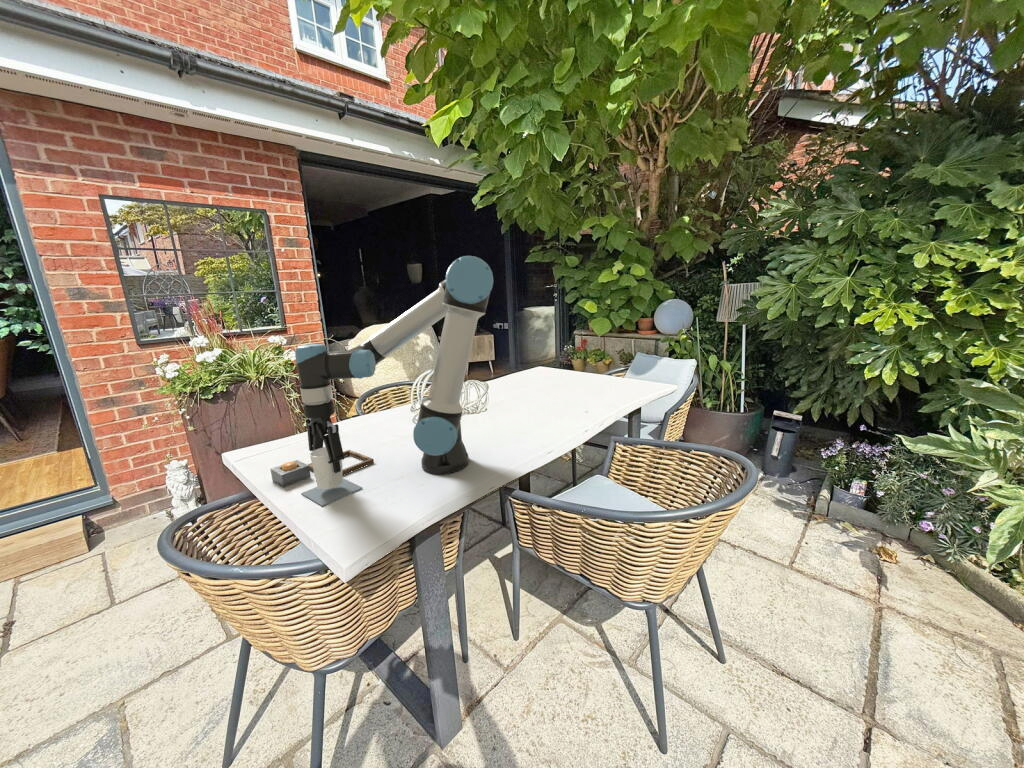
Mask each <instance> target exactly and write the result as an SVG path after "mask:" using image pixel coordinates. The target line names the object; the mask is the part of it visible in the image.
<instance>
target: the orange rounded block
mask: <svg viewBox="0 0 1024 768" xmlns="http://www.w3.org/2000/svg"><path fill="white" fill-rule="evenodd" d="M294 461H295V460H293V461H287V462H285V463H284V462H283V464H281V465H282V470H283V471H285V472H286V471H289V470H292V469H294V468H297V463H296V462H294Z"/></svg>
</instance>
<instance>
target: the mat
mask: <svg viewBox="0 0 1024 768" xmlns="http://www.w3.org/2000/svg"><path fill="white" fill-rule="evenodd" d="M362 488H363V487H362V486H361V485H358V484H356V483H354V482H352V481H349V480H347V479H345V478H344V477H343V483H342V484H341V485H339V486H337V487H335V488H331V489H319V488H318V487H317V486H316V487H313V488H311V489H309V490H305V491H303V492H301V494H300V495H301V496H303V497H304V498H306V499H308V500H310V501H312V502H313V503H315V504H317V505H319V506H320V507H321V508H322V507H325V506H327V505H329V504H332V503H334V502H336V501H339V500H341V499H343V498H345V497H348V496H349V494H350V495H351V493H352V494H354V493H356V492H358V491H357V490H359V491H361V490H363V489H362ZM360 489H361V490H360ZM355 491H356V492H355ZM353 492H354V493H353ZM344 496H345V497H344ZM342 497H343V498H342ZM340 498H341V499H340ZM333 501H334V502H333ZM331 502H332V503H331Z"/></svg>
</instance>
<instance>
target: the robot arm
mask: <svg viewBox="0 0 1024 768" xmlns="http://www.w3.org/2000/svg"><path fill="white" fill-rule="evenodd" d="M493 286H494V275H493V271H492V269H491V266H490V265H489V264H488V263H487V262H486V261H485V260H483V259H482V258H481V257H477V256H476V255H475V256H474V255H473V256H472V255H462V256H459V258H456V259H455V260H454V261H452V263H451V264H450V265H449V266H448V268H447V270H446V273H445V278H444V280H442V281H440V282H439V284H438V288H437V289H436V290H434V291H433V292H431V293H430V294H428V295H427V296H425V298H423V299H421V300H420V301H419V302H417V303H416V304H415V305H413V306H412V307H411V308H409V309H408V310H406V311H405V312H403V313H402V314H401V315H399V316H398V317H397V318H395V319H393V320H392V321H390V322H389V324H387V325H385V326H384V327H382V328H381V329H380V330H378V331H377V332H375V333H374V334H373V335H371V336H370V337H369V338H367V339H365V340H364V341H363V342H361V343H360V344H358V345H356V346H355V347H352V348H350V349H348V350H335V351H333V350H332V351H330V350H328V349H327V347H326V344H323V343H312V344H311V343H310V344H302V345H299V346H297V347H296V348H295V350H294V352H295V353H294V354H295V365H296V370H297V375H298V376H297V377H298V380H299V381H298V382H299V387H300V388H299V389H300V395H301V402H302V403H304V404H303V405H302V406H303V413H304V417H305V418H306V419H305V424H306V427H307V428H306V429H307V430H306V431H307V438H308V439H307V440H308V450H309V452H312V451H314V450H316V449H319V448H322V447H326V449H327V452H328V455H329V458H330V461H329V462H328V463H329V467H330V474H331V480H332V484H333V485H334V484H336V483H339V482H341V481H343V480H342V473H341V466H340V460H342V461H343V460H344V459H345V457H344V455H343V452H344V451H343V446H342V441H341V436H340V428H339V424H337V423H336V424H333V421H332V418H331V416H332V415H333V414H335V413H336V411H335V410H336V409H335V404H334V400H332V399H333V398H334V397H333V386H332V383H331V380H341V379H342V380H343V379H344V380H345V379H347V380H348V379H358V380H359V379H365V378H370V377H373V376H374V374H375V372H376V366H377V365H378V364H379V363H381V362H382V361H383V360H385V359H386V358H388V357H389V356H390V355H392V354H393V353H395V352H396V351H397V350H399V349H400V348H402V347H403V346H405V345H406V344H407V343H410V341H412V340H413V339H414V338H417V337H418V336H419V335H420V334H422V333H424V331H426V330H428V329H429V328H430V327H432V326H433V325H434V324H436V323H438V322H439V321H440V320H442V319H443V318H444V322H443V326H442V331H441V334H440V335H441V336H440V340H439V341H440V342H439V345H438V349H437V355H436V358H435V359H436V360H435V365H434V368H433V374H432V378H431V382H430V383H431V384H430V387H429V392H428V396H427V395H426V396H424V397H422V398H421V401H420V408H419V412H418V417H417V422H416V424H415V426H414V428H413V433H412V434H413V435H412V436H413V441H414V444H415V446H416V447H417V448H418V450H419V451H421V452H422V453H423V454H422V458H421V461H420V462H421V469H422V470H423V471H424V472H426V473H429V474H432V475H433V474H434V475H444V474H445V475H446V474H452V473H455V472H459V471H462V470H463V469H465V468H467V467H468V465H469V463H470V459H469V458H470V457H469V454H468V452H467V449H466V447H465V445H464V442H463V439H462V426H461V419H462V415H463V411H464V408H463V406H462V405H461V403H460V399H461V395H462V390H463V387H464V383H465V378H466V373H467V368H468V365H469V360H470V356H471V352H472V348H473V343H474V339H475V336H476V335H475V334H476V330H477V325H478V320H479V319H480V318H481V317H482V316H485V315H486V312H487V306H488V303H489V298H490V295H491V291H492V289H493Z"/></svg>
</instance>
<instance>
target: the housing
mask: <svg viewBox="0 0 1024 768" xmlns="http://www.w3.org/2000/svg"><path fill="white" fill-rule="evenodd" d="M293 461H294V462H296V463H297V468H294V469H292V470H289V471H286V472H285V471H283V470H282V465H283V464H280V465H278V466H274V467H272V468H270V473H271V480H272V482H274V483H276V484H277V485H279V486H280V487H282V488H287V487H289V486H292V485H294V484H295V485H296V484H297V483H300V482H303V481H305V480H308V479H311V478H310V477H311V470H310V469H309V465H307V464H306V463H304V462H303V461H301V460H298V459H295V460H293ZM307 478H308V479H307ZM302 480H303V481H302Z"/></svg>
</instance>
